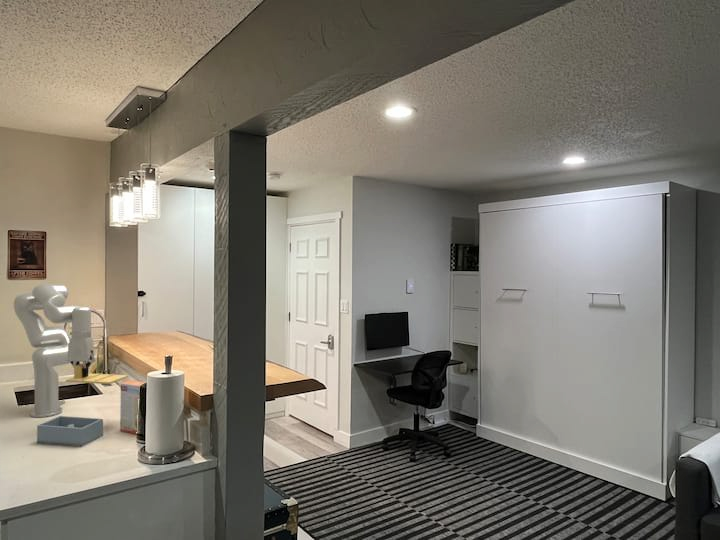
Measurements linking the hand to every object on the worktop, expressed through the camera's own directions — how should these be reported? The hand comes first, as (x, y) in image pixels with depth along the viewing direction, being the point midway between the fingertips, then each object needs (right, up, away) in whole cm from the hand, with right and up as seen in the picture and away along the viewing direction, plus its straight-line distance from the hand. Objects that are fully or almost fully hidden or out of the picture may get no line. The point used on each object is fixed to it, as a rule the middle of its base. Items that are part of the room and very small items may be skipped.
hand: (81, 375), depth 213 cm
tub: (+5, -22, -17) cm, 28 cm away
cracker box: (+28, -23, -7) cm, 37 cm away
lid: (+8, -1, -1) cm, 8 cm away
